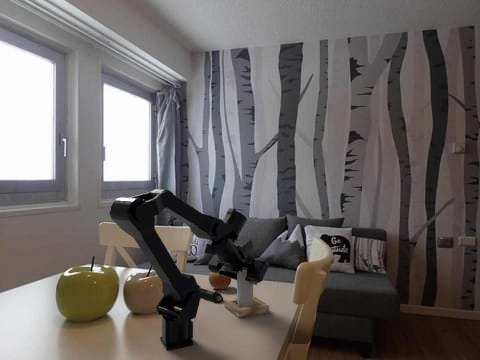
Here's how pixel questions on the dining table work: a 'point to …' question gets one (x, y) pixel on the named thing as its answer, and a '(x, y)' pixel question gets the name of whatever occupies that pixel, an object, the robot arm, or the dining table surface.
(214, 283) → the apple
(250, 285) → the beverage can
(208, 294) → the electric trimmer
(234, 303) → the socket block
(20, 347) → the dining table surface
